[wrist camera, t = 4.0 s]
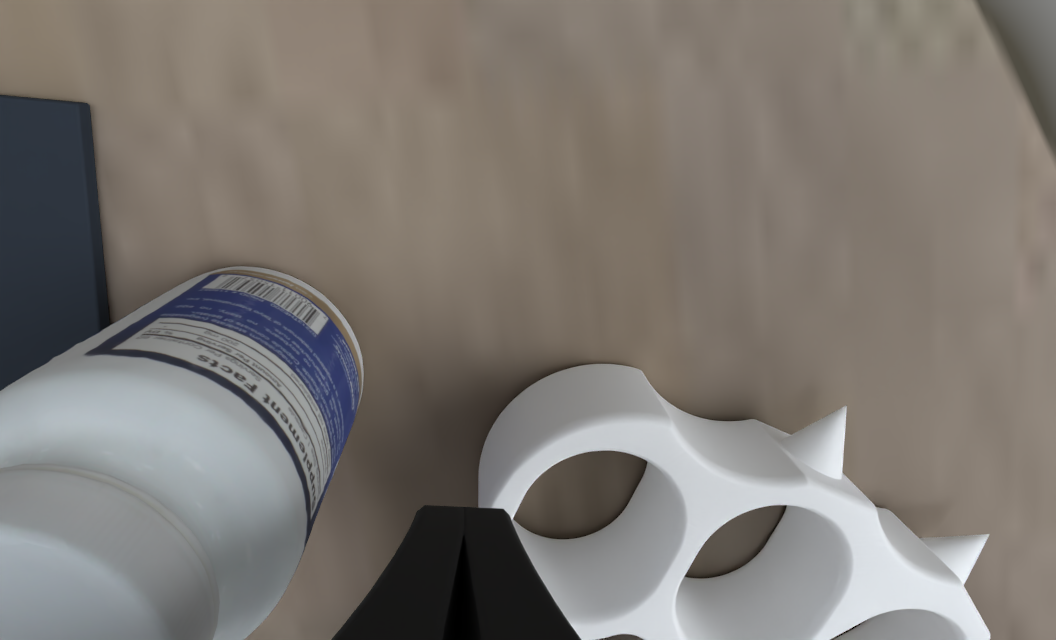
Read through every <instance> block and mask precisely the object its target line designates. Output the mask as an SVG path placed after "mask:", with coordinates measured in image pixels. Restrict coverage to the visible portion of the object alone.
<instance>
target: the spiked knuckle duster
mask: <svg viewBox="0 0 1056 640" xmlns="http://www.w3.org/2000/svg"><path fill="white" fill-rule="evenodd" d="M846 411H847V405H846V406H844V407H842V408H841V409H839V410H837V411H835V412H833V413H831V414H829V415H827V416H826V417H824V418H822V419H820V420H818V421H816V422H814V423H813V424H811V425H809V426H807V427H805V428H803V429H801V430H799V431H798V432H796V433H794V434H792V435H790V434H788V433H785V432H783V431H781V430H778V429H776V428H774V427H772V426H769V425H767V424H765V423H763V422H760V421H758V420H756V419H749V420H742V421H715V420H709V419H704V418H700V417H697V416H694V415H691V414H688V413H686V412H684V411H682V410H680V409H678V408H676V407H675V406H673V405H672V404H670V403H669V402H667V401H666V400H665V399H664V398H663V397H661V396H660V395H659V394H658V393H657V392H656V391H655V389H654V388H653V387H652V386H651V385H650V383H649V382H648V380H647V378H646V377H645V375H644V374H643V372H642V371H641V370H640V369H637V368H633V367H629V366H624V365H616V364H590V365H582V366H577V367H572V368H568V369H565V370H562V371H559V372H556V373H554V374H551V375H549V376H547V377H545V378H543V379H541V380H539V381H537V382H536V383H534V384H532V385H531V386H529V387H528V388H527V389H525V390H524V391H523V392H521V393H520V394H519V395H518V396H517V397H515V398H514V399H513V400H512V401H511V402H510V403H509V404H508V405H507V407H506V408H505V409H504V410H503V411H502V413H501V414H500V415H499V417H498V418H497V420H496V421H495V423H494V424H493V426H492V428H491V430H490V432H489V434H488V436H487V438H486V441H485V443H484V447H483V450H482V453H481V458H480V464H479V476H478V508H499V509H504V510H505V511H506V512H507V513H508V514H509V515H510V517H511V520H512V523H513V525H514V528H515V530H516V532H517V534H518V537H519V539H520V541H521V543H522V545H523V547H524V549H525V551H526V553H527V554H528V556H529V558H530V560H531V562H532V564H533V566H534V567H535V569H536V571H537V573H538V574H539V576H540V578H541V579H542V581H543V583H544V584H545V586H546V588H547V589H548V591H549V592H550V594H551V596H552V597H553V599H554V601H555V602H556V604H557V605H558V607H559V608H560V610H561V611H562V613H563V614H564V616H565V617H566V619H567V620H568V622H569V623H570V624H571V626H572V627H573V629H574V630H575V631H576V633H577V634H578V636H579V637H580V638H581V640H596V639H602V638H606V637H610V636H613V635H618V634H631V635H635V636H638V637H640V638H642V639H643V640H830V639H832V638H834V637H835V636H837V635H839V634H841V633H843V632H845V631H847V630H848V629H850V628H852V627H854V626H856V625H858V624H860V623H862V622H863V621H865V620H866V621H865V622H864V623H862V624H861V625H859V626H858V627H856V628H854V629H852V630H850V631H848V632H847V633H845V634H843V635H841V636H839V637H837V638H835V639H833V640H990V632H989V630H988V628H987V627H986V625H985V623H984V621H983V619H982V618H981V616H980V614H979V612H978V610H977V609H976V607H975V605H974V603H973V602H972V600H971V598H970V596H969V594H968V593H967V591H966V589H965V587H964V586H963V585H964V583H965V582H966V580H967V578H968V576H969V574H970V572H971V570H972V568H973V566H974V564H975V562H976V560H977V558H978V556H979V554H980V552H981V550H982V548H983V546H984V544H985V542H986V540H987V538H988V536H989V535H990V534H983V535H965V536H948V537H930V538H918V537H917V536H916V535H915V534H914V533H913V532H912V531H911V530H910V529H909V528H908V527H907V526H906V525H905V524H904V523H903V522H902V521H901V520H900V519H899V518H898V517H896V516H895V515H894V514H893V513H892V512H891V511H890V510H888V509H885V508H878V507H875V505H874V504H873V503H872V502H871V501H870V500H869V499H868V498H867V497H866V496H865V495H864V494H863V493H862V492H861V491H860V490H859V489H858V488H857V487H856V486H855V485H854V484H853V483H852V482H851V481H850V480H849V479H848V478H847V477H846V476H845V475H844V474H843V473H842V466H843V452H844V438H845V425H846ZM602 450H609V451H620V452H625V453H629V454H632V455H635V456H638V457H640V458H642V459H644V460H646V461H648V462H647V466H646V470H645V473H644V475H643V477H642V479H641V481H640V483H639V485H638V487H637V488H636V490H635V492H634V494H633V496H632V498H631V500H630V501H629V503H628V505H627V507H626V508H625V509H624V511H623V512H622V513H621V514H620V515H619V516H618V517H617V518H616V519H615V520H614V521H613V522H612V523H611V524H609V525H608V526H606V527H605V528H603V529H601V530H599V531H597V532H595V533H593V534H590V535H587V536H584V537H580V538H575V539H551V538H546V537H542V536H539V535H536V534H534V533H532V532H530V531H528V530H526V529H524V528H523V527H522V526H520V525H519V524H518V523H517V522H516V521H515V520H514V519H513V517H514V515H515V513H516V511H517V509H518V507H519V505H520V503H521V501H522V499H523V497H524V495H525V494H526V492H527V490H528V489H529V487H530V486H531V485H532V484H533V482H534V481H535V480H536V479H537V478H538V477H539V476H540V475H541V474H542V473H544V472H545V471H546V470H547V469H549V468H550V467H552V466H553V465H555V464H556V463H558V462H560V461H562V460H564V459H566V458H569V457H571V456H574V455H578V454H581V453H585V452H591V451H602ZM772 505H787V507H786V510H785V512H784V515H783V517H782V519H781V520H780V522H779V524H778V525H777V527H776V529H775V530H774V532H773V533H772V535H771V537H770V538H769V540H768V542H767V543H766V545H765V546H764V548H763V549H762V550H761V551H760V552H759V553H758V555H757V556H756V557H754V558H753V559H752V560H751V561H750V562H748V563H747V564H746V565H744V566H743V567H741V568H739V569H737V570H735V571H733V572H731V573H728V574H725V575H722V576H718V577H713V578H703V579H699V578H689V577H684V576H685V574H686V572H687V571H688V569H689V567H690V566H691V564H692V562H693V561H694V559H695V557H696V555H697V554H698V552H699V550H700V549H701V547H702V546H703V544H704V543H705V542H706V540H707V539H708V538H709V537H710V536H711V535H712V534H713V533H714V532H715V531H716V530H717V529H718V528H720V527H721V526H722V525H723V524H725V523H726V522H728V521H729V520H731V519H733V518H735V517H736V516H738V515H740V514H743V513H745V512H748V511H750V510H753V509H757V508H761V507H765V506H772ZM867 619H868V620H867Z"/></svg>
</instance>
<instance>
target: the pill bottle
mask: <svg viewBox="0 0 1056 640" xmlns="http://www.w3.org/2000/svg"><path fill="white" fill-rule="evenodd" d="M363 379H364V370H363V361H362V355H361V352H360V347H359V344H358V342H357V340H356V337H355V335H354V333H353V331H352V329H351V327H350V325H349V324H348V322H347V321H346V319H345V318H344V316H343V315H342V314H341V313H340V311H339V310H338V309H337V308H336V307H335V306H334V305H333V304H332V303H331V302H330V301H329V300H328V299H327V298H326V297H325V296H324V295H323V294H321V293H320V292H319V291H317V290H316V289H314V288H313V287H311V286H310V285H308V284H306V283H304V282H303V281H301V280H299V279H297V278H294V277H292V276H290V275H287V274H284V273H281V272H278V271H274V270H270V269H265V268H259V267H246V266H237V267H228V268H223V269H218V270H214V271H211V272H207V273H204V274H202V275H199V276H197V277H194V278H192V279H190V280H188V281H186V282H184V283H182V284H180V285H178V286H176V287H175V288H173V289H171V290H169V291H167V292H166V293H164V294H162V295H160V296H159V297H157V298H156V299H154V300H152V301H150V302H148V303H147V304H145V305H143V306H141V307H139V308H138V309H136V310H135V311H133V312H132V313H130V314H129V315H127V316H125V317H123V318H122V319H120V320H118V321H117V322H115V323H113V324H111V325H110V326H108V327H107V328H105V329H103V330H101V331H100V332H98V333H96V334H94V335H93V336H91V337H89V338H88V339H86V340H85V341H83V342H81V343H78V344H76V345H74V346H73V347H71V348H70V349H68V350H66V351H65V352H63V353H62V354H60V355H58V356H56V357H54V358H52V359H51V360H49V361H48V362H47V363H45V364H44V365H42V366H40V367H38V368H37V369H35V370H33V371H31V372H29V373H27V374H26V375H24V376H23V377H21V378H20V379H18V380H16V381H15V382H13V383H12V384H10V385H9V386H7V387H6V388H4V389H3V390H1V391H0V640H244V639H245V638H246V637H248V636H249V635H250V634H251V633H252V632H253V631H254V630H255V629H256V628H257V627H258V626H259V625H260V624H261V623H262V622H263V621H264V620H265V619H266V618H267V616H268V615H269V614H270V613H271V612H272V610H273V609H274V608H275V606H276V605H277V603H278V602H279V600H280V599H281V597H282V596H283V594H284V592H285V590H286V588H287V586H288V584H289V582H290V581H291V579H292V577H293V575H294V573H295V571H296V569H297V566H298V564H299V562H300V559H301V557H302V554H303V552H304V549H305V546H306V543H307V541H308V538H309V535H310V533H311V530H312V526H313V524H314V521H315V518H316V516H317V513H318V511H319V508H320V505H321V502H322V500H323V498H324V496H325V494H326V491H327V489H328V486H329V484H330V481H331V479H332V477H333V474H334V472H335V469H336V467H337V464H338V461H339V458H340V456H341V453H342V450H343V448H344V445H345V443H346V440H347V437H348V435H349V432H350V430H351V427H352V425H353V422H354V419H355V416H356V413H357V409H358V406H359V403H360V399H361V396H362V391H363Z"/></svg>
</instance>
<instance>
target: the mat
mask: <svg viewBox="0 0 1056 640" xmlns="http://www.w3.org/2000/svg"><path fill="white" fill-rule="evenodd" d="M108 326H110V322H109V312H108V301H107V290H106V279H105V268H104V257H103V246H102V235H101V224H100V213H99V203H98V192H97V181H96V170H95V159H94V148H93V137H92V126H91V115H90V106H89V104H87V103H81V102H70V101H60V100H49V99H39V98H28V97H17V96H7V95H0V391H1V390H3V389H4V388H6V387H7V386H9V385H10V384H12V383H13V382H15V381H16V380H18V379H20V378H21V377H23V376H24V375H26V374H27V373H29V372H31V371H33V370H35V369H37V368H38V367H40V366H42V365H44V364H45V363H47V362H48V361H49V360H51V359H52V358H54V357H56V356H58V355H60V354H62V353H63V352H65V351H66V350H68V349H70V348H71V347H73V346H74V345H76V344H78V343H81V342H83V341H85V340H86V339H88V338H89V337H91V336H93V335H94V334H96V333H98V332H100V331H101V330H103V329H105V328H107V327H108Z"/></svg>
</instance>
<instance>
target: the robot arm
mask: <svg viewBox="0 0 1056 640" xmlns="http://www.w3.org/2000/svg"><path fill="white" fill-rule="evenodd" d="M332 640H581V638H580V637H579V636H578V634H577V633H576V631H575V630H574V629H573V627H572V626H571V624H570V623H569V622H568V620H567V619H566V617H565V616H564V614H563V613H562V611H561V610H560V608H559V607H558V605H557V604H556V602H555V601H554V599H553V597H552V596H551V594H550V592H549V591H548V589H547V588H546V586H545V584H544V583H543V581H542V579H541V578H540V576H539V574H538V573H537V571H536V569H535V567H534V566H533V564H532V562H531V560H530V558H529V556H528V554H527V553H526V551H525V549H524V547H523V545H522V543H521V541H520V539H519V537H518V534H517V532H516V530H515V528H514V525H513V523H512V520H511V517H510V515H509V514H508V513H507V512H506V511H505V510H504V509H499V508H476V507H454V506H431V505H424V506H423V507H422V508H421V509H419V510H418V511H417V512H416V515H415V518H414V520H413V522H412V525H411V527H410V529H409V531H408V532H407V534H406V536H405V538H404V540H403V542H402V543H401V545H400V546H399V548H398V550H397V551H396V553H395V555H394V556H393V558H392V560H391V561H390V562H389V564H388V565H387V567H386V568H385V570H384V571H383V573H382V574H381V576H380V577H379V579H378V580H377V582H376V583H375V585H374V586H373V588H372V589H371V590H370V592H369V593H368V594H367V596H366V597H365V598H364V600H363V601H362V602H361V603H360V605H359V606H358V607H357V609H356V610H355V611H354V612H353V614H352V615H351V616H350V617H349V619H348V620H347V621H346V623H345V624H344V625H343V626H342V628H341V629H340V630H339V631H338V633H337V634H336V635H335V636H334V637H333V638H332Z"/></svg>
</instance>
